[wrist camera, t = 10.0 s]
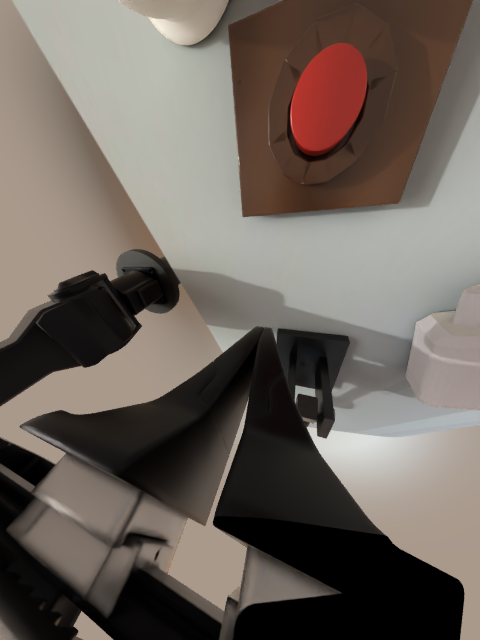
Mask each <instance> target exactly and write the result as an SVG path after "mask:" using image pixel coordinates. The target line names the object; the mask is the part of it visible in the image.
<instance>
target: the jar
mask: <svg viewBox="0 0 480 640" xmlns="http://www.w3.org/2000/svg"><path fill="white" fill-rule="evenodd" d="M117 1H119V2H120V3H122V4H123V5H125V6H126V7H128V8H130V9H131V10H133V11H135V12H137V13H139V14H142V15H144V16H147V17H149V19H150V20H151V22H152V23H153V25H154V26H155V27H156V28H157V29H158V31H159V32H160V33H161V34H162V35H164V36H165V37H166V38H167V39H169V40H170V41H172V42H174V43H176V44H180V45H192V44H195V43H198V42H199V41H201V40H203V39H204V38H205V37H207V36H208V35H209V34H210V32H211V31H212V30H213V29H214V28H215V26H216V25H217V23H218V22H219V20H220V19H221V17H222V15H223V13H224V11H225V9H226V7H227V4H228V2H229V0H117Z"/></svg>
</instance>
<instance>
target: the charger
mask: <svg viewBox="0 0 480 640" xmlns="http://www.w3.org/2000/svg"><path fill="white" fill-rule="evenodd" d="M406 379H407V381H408V382H409V384H410V386H411V388H412V390H413V392H414V394H415V395H416V397H417V399H418V400H419V401H421V402H423V403H425V404H428V405H432V406H436V407H445V408H458V409H471V410H480V284H477V285H474V286H472V287H469V288H466V289H465V290H464V291H463V292H462V294H461V297H460V300H459V303H458V306H457V309H456V311H447V312H438V313H433V314H430V315H429V316H427V317H425V318H423V319H421V320H419V321H417V322H416V326H415V331H414V336H413V341H412V346H411V351H410V356H409V361H408V366H407V371H406Z"/></svg>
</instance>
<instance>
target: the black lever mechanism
mask: <svg viewBox="0 0 480 640" xmlns="http://www.w3.org/2000/svg"><path fill="white" fill-rule="evenodd" d="M349 343H350V341H349V338H348V336H341V335H332V334H323V333H314V332H305V331H296V330H286V329H278V332H277V348H278V351H279V355H280V358H281V362H282V365H283V368H284V372H285V376H286V378H287V382H288V385H289V388H290V391H291V394H292V396H293V398H294V400H295V385H298V386H302V387H307V388H312V389H315V395H316V398H318V421H317V436H319V437H323V438H327V436H328V434H329V432H330V430H331V428H332V426H333V424H334V422H335V410H334V408H333V401H332V393H331V392H332V389H333V386H334V384H335V381H336V378H337V376H338V373H339V370H340V367H341V365H342V362H343V359H344V357H345V354H346V351H347V348H348V346H349Z"/></svg>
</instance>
